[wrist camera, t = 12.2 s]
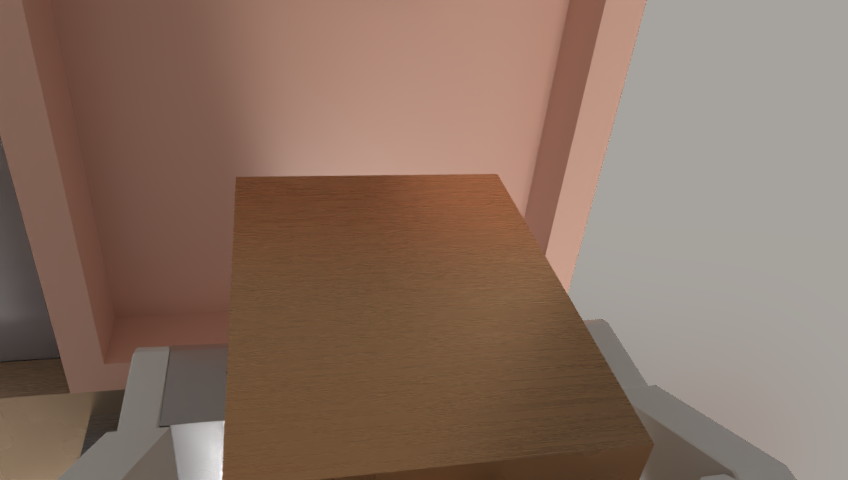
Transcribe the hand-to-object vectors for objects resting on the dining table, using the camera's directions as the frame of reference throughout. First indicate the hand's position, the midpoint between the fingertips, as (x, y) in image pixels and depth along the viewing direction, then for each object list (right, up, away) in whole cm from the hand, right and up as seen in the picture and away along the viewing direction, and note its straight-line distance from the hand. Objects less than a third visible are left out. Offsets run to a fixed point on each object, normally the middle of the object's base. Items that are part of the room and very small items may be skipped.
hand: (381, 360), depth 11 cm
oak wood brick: (0, +1, +2) cm, 2 cm away
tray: (-2, +5, +7) cm, 9 cm away
